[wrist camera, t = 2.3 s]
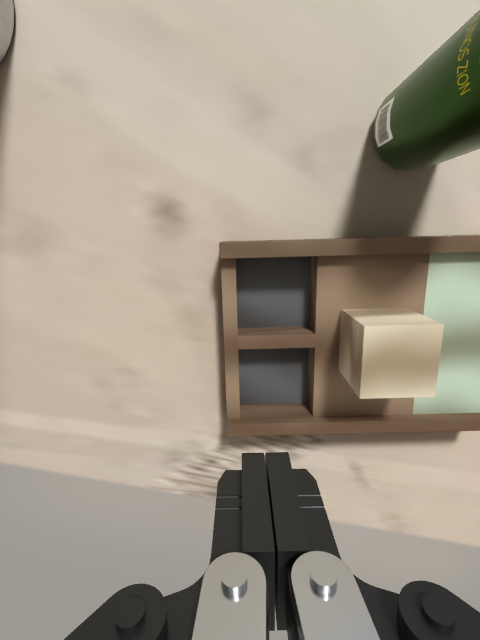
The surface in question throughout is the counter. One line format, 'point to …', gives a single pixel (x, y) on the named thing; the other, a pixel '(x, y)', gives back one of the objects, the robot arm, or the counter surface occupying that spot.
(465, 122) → the beer can
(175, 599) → the robot arm
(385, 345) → the maple block
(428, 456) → the counter surface
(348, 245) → the box
